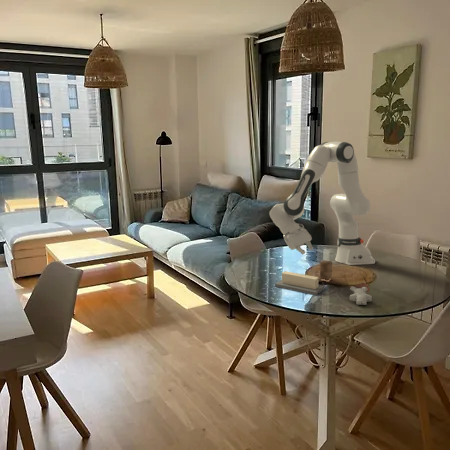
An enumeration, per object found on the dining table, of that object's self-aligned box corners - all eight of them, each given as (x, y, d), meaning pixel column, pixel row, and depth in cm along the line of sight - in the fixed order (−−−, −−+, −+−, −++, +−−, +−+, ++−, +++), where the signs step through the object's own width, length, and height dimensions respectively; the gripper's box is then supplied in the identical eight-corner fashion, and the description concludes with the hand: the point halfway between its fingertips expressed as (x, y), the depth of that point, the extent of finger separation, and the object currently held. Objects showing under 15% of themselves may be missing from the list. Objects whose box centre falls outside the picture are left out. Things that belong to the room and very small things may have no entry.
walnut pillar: (319, 281, 227) (320, 262, 225) (323, 278, 231) (323, 260, 229) (328, 282, 225) (328, 263, 223) (331, 280, 228) (332, 261, 226)
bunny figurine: (350, 297, 194) (348, 282, 208) (350, 308, 196) (347, 292, 210) (373, 298, 192) (369, 283, 206) (372, 309, 194) (368, 293, 208)
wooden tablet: (372, 290, 210) (350, 287, 211) (371, 295, 210) (349, 292, 211) (362, 273, 235) (343, 270, 237) (362, 277, 236) (343, 274, 237)
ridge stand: (275, 286, 221) (275, 274, 219) (284, 280, 229) (284, 268, 227) (316, 295, 208) (316, 282, 207) (324, 288, 216) (325, 276, 215)
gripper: (285, 231, 224) (303, 252, 221) (303, 223, 240) (320, 243, 237) (278, 238, 228) (295, 259, 224) (296, 230, 244) (312, 250, 240)
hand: (308, 251), depth 231 cm, fingers open, 8 cm apart
